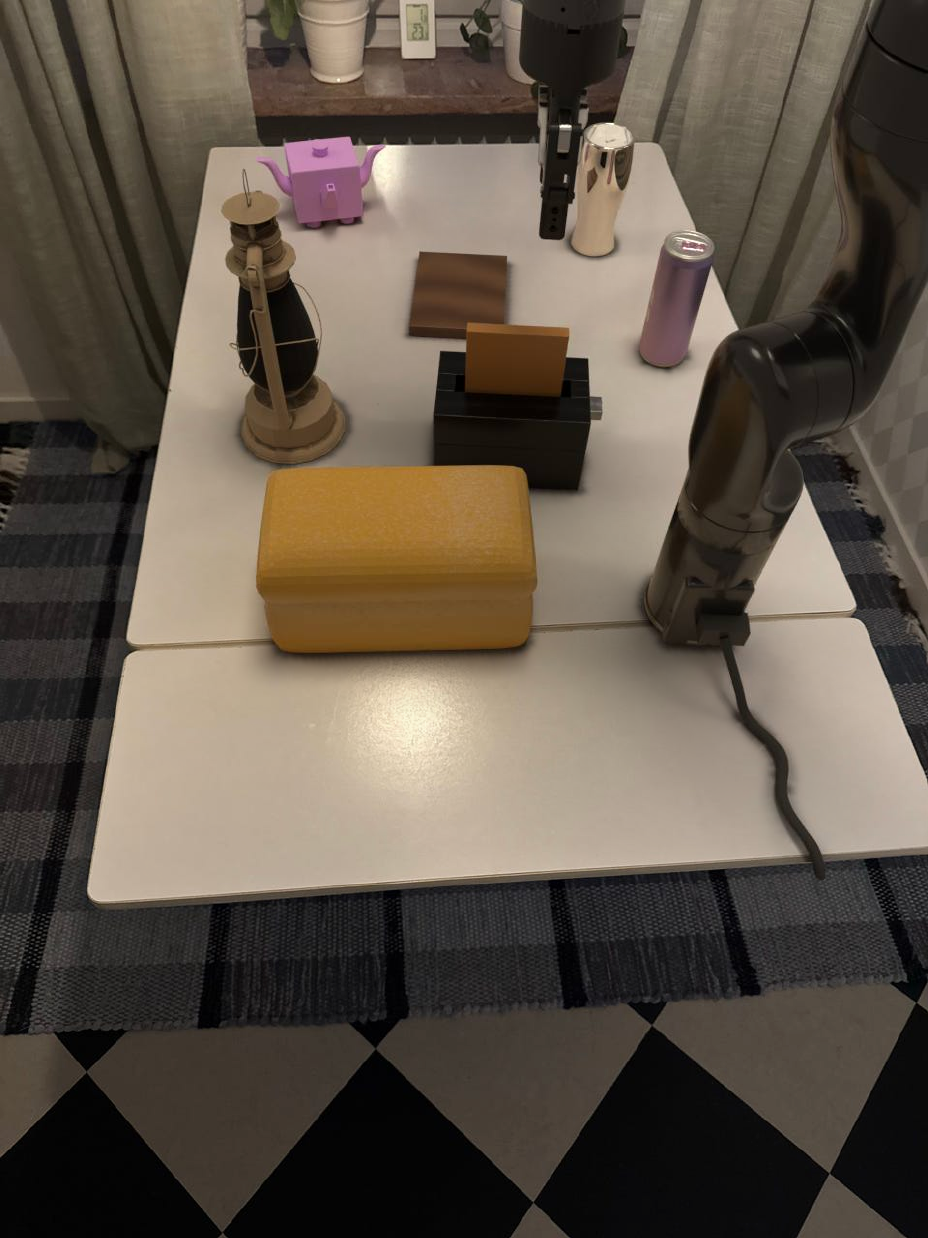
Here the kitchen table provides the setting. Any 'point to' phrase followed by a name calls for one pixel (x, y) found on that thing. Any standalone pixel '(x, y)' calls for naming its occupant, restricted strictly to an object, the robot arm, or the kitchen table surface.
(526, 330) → the toast
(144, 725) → the kitchen table surface
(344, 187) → the teapot
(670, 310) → the beverage can
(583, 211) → the beer glass
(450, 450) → the toaster
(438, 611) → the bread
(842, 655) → the kitchen table surface
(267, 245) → the lantern
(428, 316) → the board
